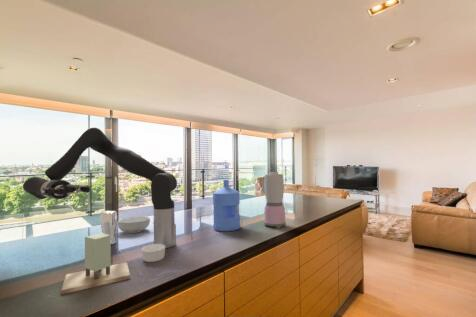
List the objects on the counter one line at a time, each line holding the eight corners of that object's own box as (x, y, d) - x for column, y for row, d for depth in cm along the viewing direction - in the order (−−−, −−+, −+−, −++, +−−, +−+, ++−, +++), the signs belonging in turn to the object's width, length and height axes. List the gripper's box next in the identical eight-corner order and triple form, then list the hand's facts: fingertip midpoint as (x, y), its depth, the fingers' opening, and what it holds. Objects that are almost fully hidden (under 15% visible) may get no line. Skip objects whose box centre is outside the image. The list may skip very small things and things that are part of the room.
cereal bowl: (156, 229, 136) (156, 217, 137) (129, 237, 122) (129, 223, 123) (138, 226, 145) (138, 215, 146) (111, 233, 131) (111, 220, 132)
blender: (290, 225, 139) (288, 171, 140) (277, 229, 131) (275, 172, 132) (269, 221, 151) (268, 171, 152) (256, 225, 143) (255, 172, 144)
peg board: (126, 265, 87) (126, 255, 87) (129, 278, 76) (129, 266, 76) (66, 277, 78) (66, 266, 78) (61, 294, 67) (61, 281, 67)
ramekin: (165, 261, 90) (165, 249, 90) (140, 264, 88) (140, 252, 88) (165, 253, 99) (165, 242, 99) (143, 255, 96) (143, 245, 96)
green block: (84, 267, 76) (84, 236, 77) (100, 262, 81) (100, 232, 81) (95, 271, 73) (95, 239, 74) (110, 265, 78) (110, 235, 78)
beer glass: (110, 245, 109) (109, 213, 110) (97, 245, 111) (97, 213, 111) (120, 241, 116) (120, 210, 117) (108, 240, 118) (108, 210, 118)
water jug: (207, 229, 135) (206, 180, 136) (224, 223, 147) (223, 179, 148) (229, 233, 126) (228, 181, 127) (245, 226, 139) (244, 179, 140)
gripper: (34, 181, 90) (54, 181, 82) (75, 179, 102) (96, 179, 94) (34, 200, 89) (54, 203, 81) (75, 196, 102) (96, 198, 94)
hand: (76, 190), depth 88 cm, fingers open, 8 cm apart
